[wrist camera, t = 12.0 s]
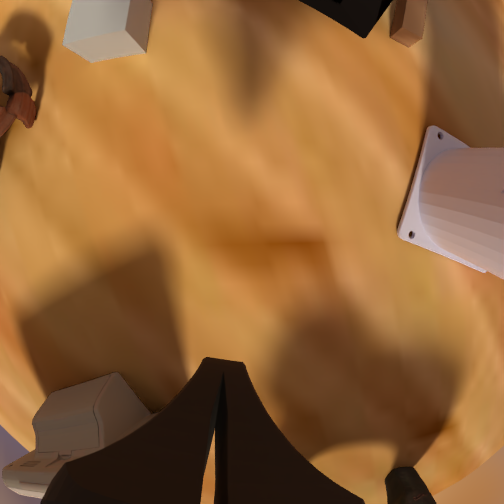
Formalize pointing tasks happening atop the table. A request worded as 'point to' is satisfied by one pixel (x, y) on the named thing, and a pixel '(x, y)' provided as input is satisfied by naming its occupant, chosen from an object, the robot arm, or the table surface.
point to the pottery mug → (15, 97)
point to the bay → (409, 21)
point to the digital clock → (75, 430)
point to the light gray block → (108, 28)
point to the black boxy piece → (352, 12)
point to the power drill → (407, 487)
